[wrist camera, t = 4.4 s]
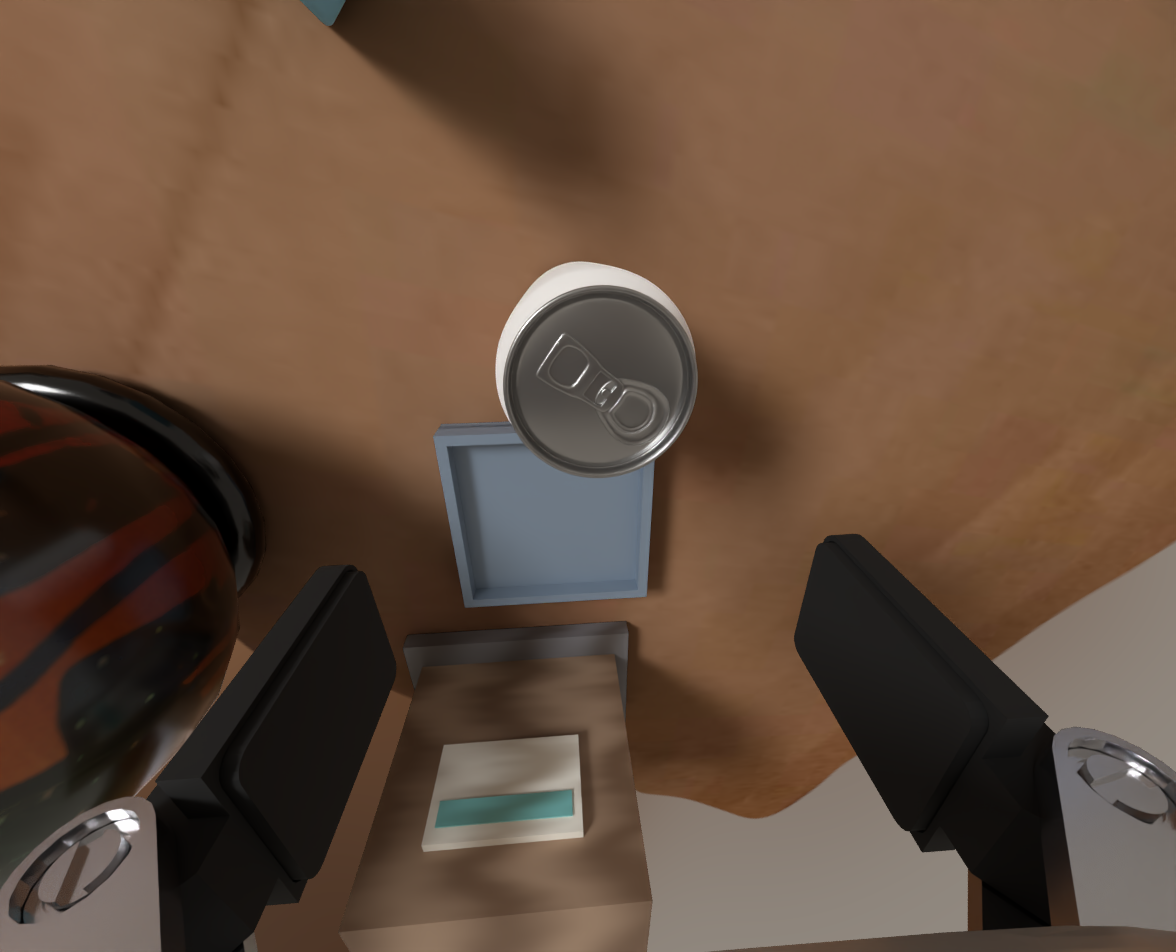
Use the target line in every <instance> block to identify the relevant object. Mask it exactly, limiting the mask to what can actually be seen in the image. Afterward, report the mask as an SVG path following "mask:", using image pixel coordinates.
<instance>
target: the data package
mask: <svg viewBox="0 0 1176 952" xmlns="http://www.w3.org/2000/svg"><path fill="white" fill-rule="evenodd" d="M300 1H301V2H302V3H303V4H304V5H305V6H306V7H307V8H308V9H309V10H310V11H311V12H312V13H313V14H314V15H315V16H316V17H317V18H318V19H319V20H320V21H321V22H322V23H323V24H325V25H327V26H331V25H333V23H334V22H335V20H336V18H337V16H338V14H339V12H340V10H341V8H342V7H343V5H344V3H345V1H346V0H300Z"/></svg>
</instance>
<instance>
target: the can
mask: <svg viewBox="0 0 1176 952" xmlns="http://www.w3.org/2000/svg"><path fill="white" fill-rule="evenodd" d="M496 384H497V390H498V394H499V398H500V401H501V404H502V407H503V409H504V412H505V414H506V416H507V418H508V420H509V421H510V423H511V424H512V426H513V428H514V430H515V431H516V433H517V435H518V436H519V438H520V439H521V441H522V442H523V443H524V444H525V446H526V447H527V448H528V449H529V450H530V451H531V452H532V453H533V454H534V455H535V456H537V457H538V458H539V459H540V460H542V461H543V462H545V463H546V464H548V465H550V466H551V467H553V468H555V469H557V470H560V471H562V472H565V473H568V474H571V475H575V476H580V477H587V478H608V477H615V476H620V475H624V474H627V473H630V472H633V471H635V470H638V469H640V468H642V467H644V466H646V465H648V464H649V463H651V462H652V461H654V460H655V459H657V458H658V457H659V456H661V455H662V454H663V453H664V452H665V451H666V450H667V449H668V448H669V447H670V446H671V445H672V444H673V443H674V442H675V441H676V440H677V438H678V437H679V436H680V434H681V433H682V431H683V429H684V428H685V426H686V424H687V422H688V420H689V418H690V416H691V413H692V410H693V407H694V404H695V400H696V395H697V387H698V370H697V362H696V357H695V349H694V344H693V340H692V336H691V333H690V330H689V328H688V326H687V323H686V321H685V319H684V317H683V316H682V314H681V312H680V311H679V309H678V308H677V307H676V305H675V304H674V303H673V302H672V300H671V299H670V298H669V297H668V296H667V295H666V294H665V293H664V292H663V291H662V290H661V289H659V288H658V287H657V286H656V285H654V284H653V283H651V282H650V281H648V280H646V279H645V278H643V277H641V276H639V275H637V274H634V273H632V272H630V271H627V270H624V269H620V268H617V267H612V266H608V265H603V264H598V263H591V262H570V263H565V264H562V265H559V266H556V267H554V268H552V269H550V270H548V271H547V272H545V273H544V274H543V275H541V276H540V277H539V278H538V279H537V280H536V281H535V282H534V283H533V284H532V285H531V286H530V288H529V289H528V290H527V291H526V293H525V294H524V296H523V297H522V298H521V300H520V301H519V303H518V304H517V305H516V307H515V309H514V310H513V312H512V313H511V315H510V317H509V319H508V321H507V323H506V325H505V327H504V329H503V332H502V335H501V338H500V341H499V345H498V349H497V356H496Z"/></svg>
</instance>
